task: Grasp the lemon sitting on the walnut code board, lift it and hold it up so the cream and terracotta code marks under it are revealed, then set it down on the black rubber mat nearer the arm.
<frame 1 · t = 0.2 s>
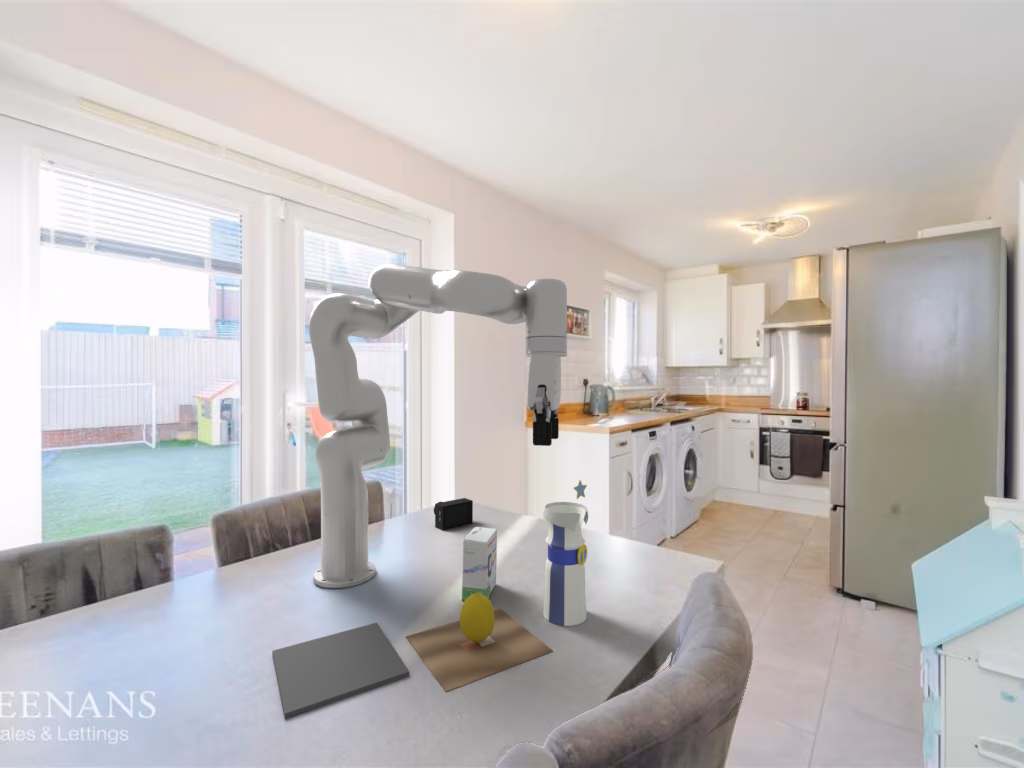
hand: (546, 441, 86), 31 cm above the table, tool pointing down, fingers open, 9 cm apart
lemon: (477, 644, 75), resting on code board
rubber mat: (338, 664, 69), on the table
water bottle: (566, 615, 84), on the table
code board: (477, 643, 75), on the table
ink box: (479, 593, 93), on the table
digital camera: (453, 525, 137), on the table
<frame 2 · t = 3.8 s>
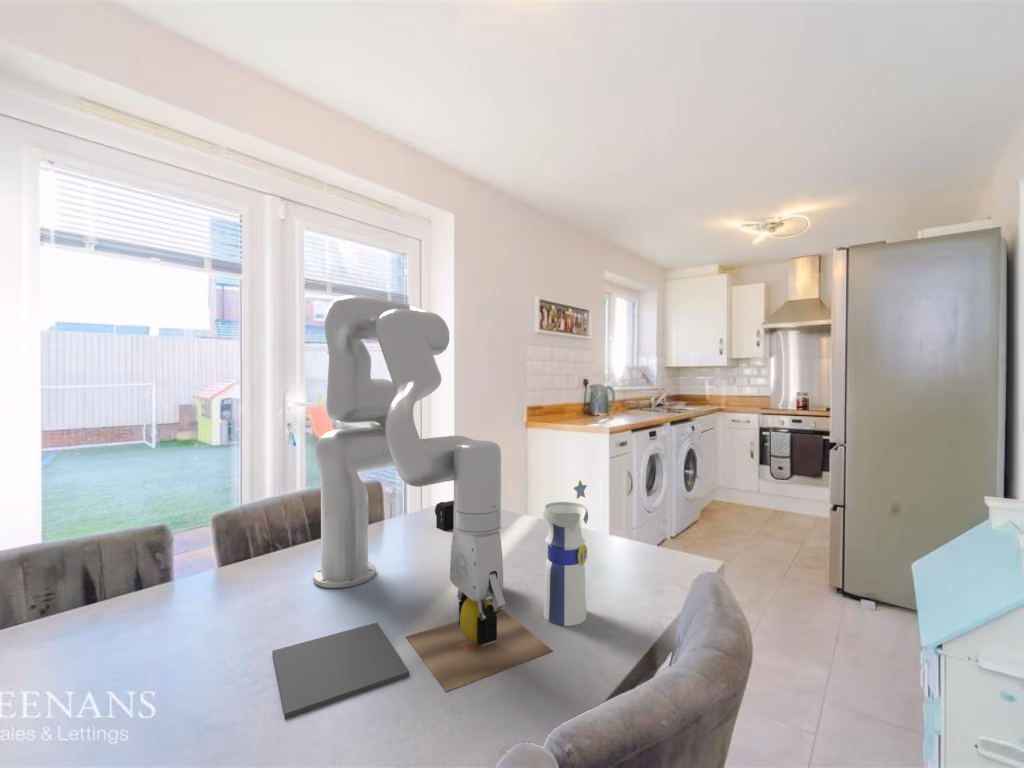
hand: (477, 631, 75), 2 cm above the table, tool pointing down, fingers closed on lemon, 5 cm apart
lemon: (477, 644, 75), resting on code board, touching gripper
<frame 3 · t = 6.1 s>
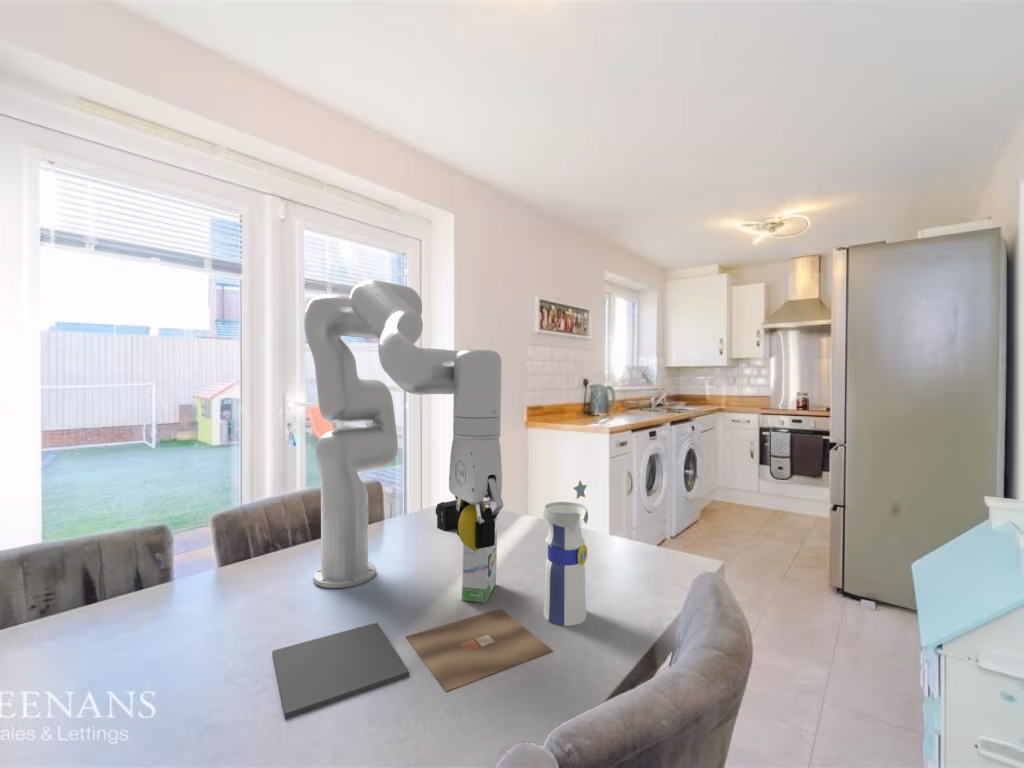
hand: (475, 539, 75), 17 cm above the table, tool pointing down, fingers closed on lemon, 5 cm apart
lemon: (475, 552, 75), point 15 cm above the table, touching gripper
everything else where it was.
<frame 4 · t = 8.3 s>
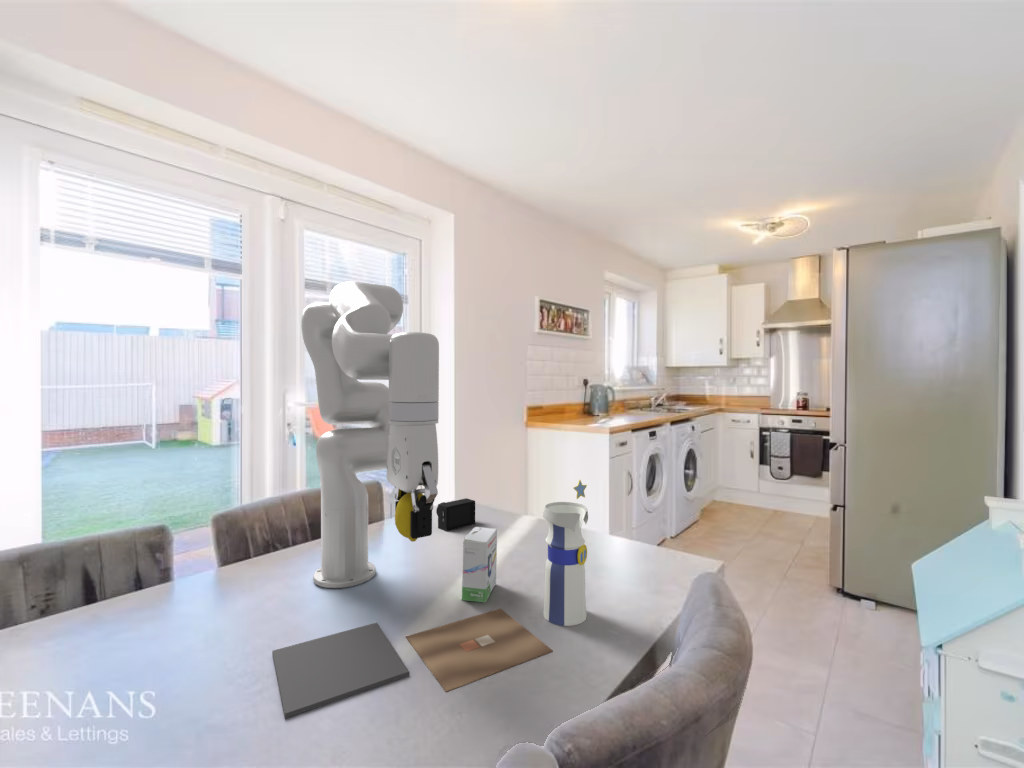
hand: (413, 529, 72), 19 cm above the table, tool pointing down, fingers closed on lemon, 5 cm apart
lemon: (413, 542, 72), point 17 cm above the table, touching gripper
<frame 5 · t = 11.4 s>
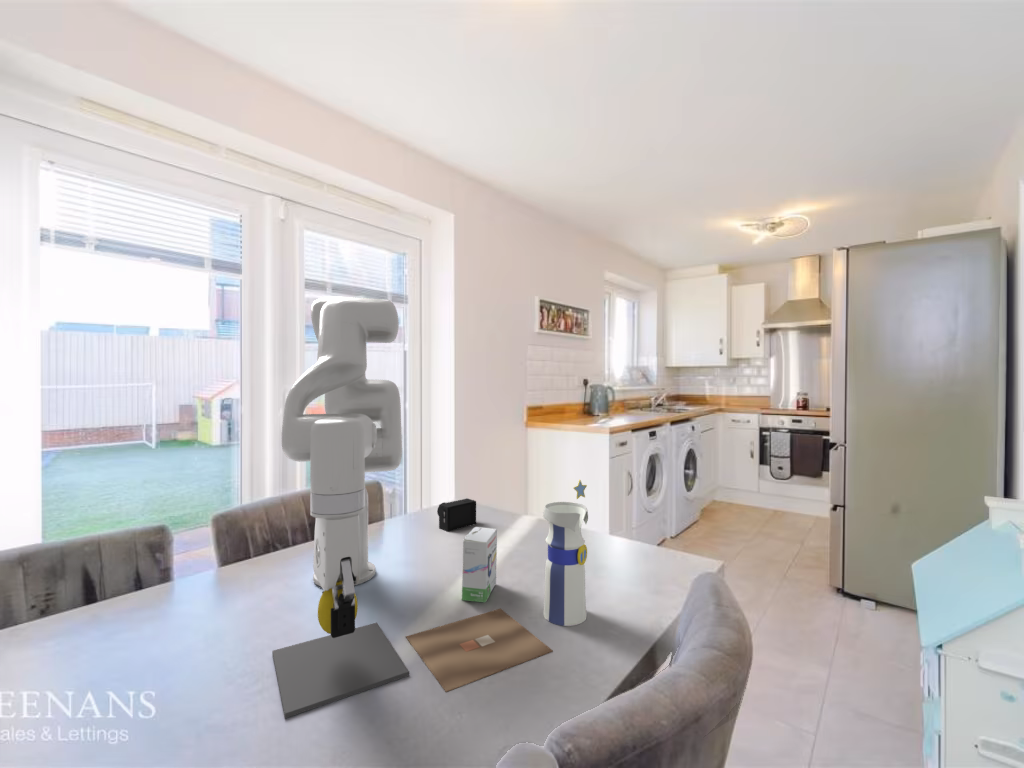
hand: (338, 623, 69), 6 cm above the table, tool pointing down, fingers closed on lemon, 5 cm apart
lemon: (338, 637, 69), point 4 cm above the table, touching gripper
when the fingers open (4 cm above the table, at t = 12.9 s): lemon drops 1 cm, resting on rubber mat.
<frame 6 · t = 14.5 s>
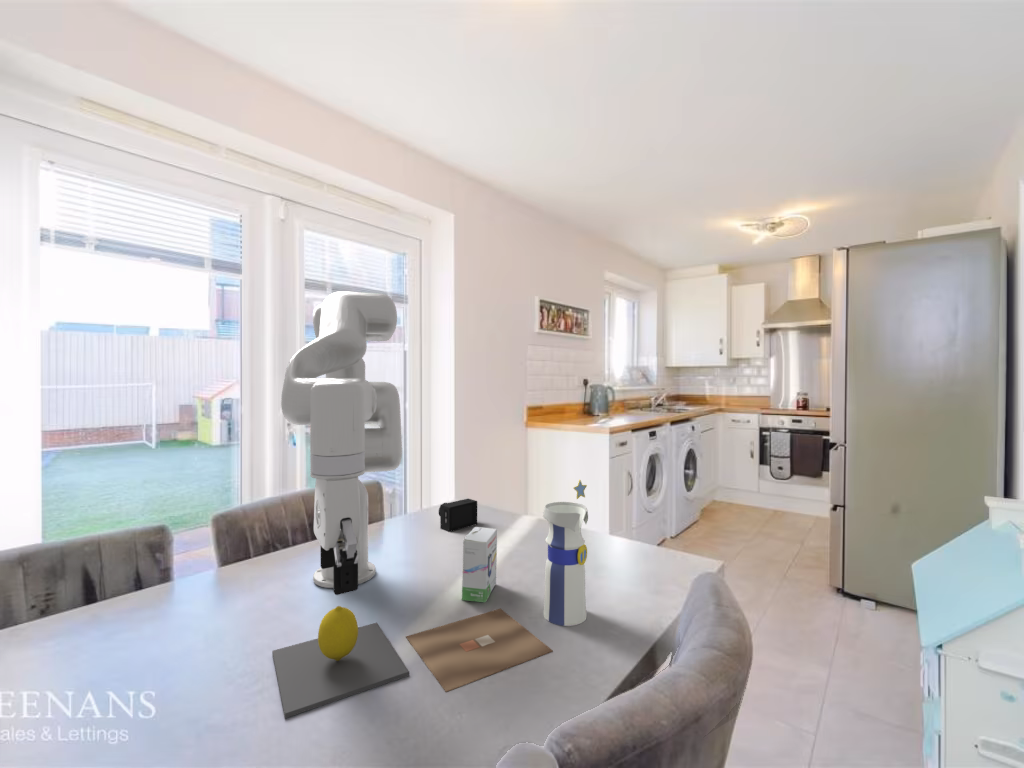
hand: (338, 578, 70), 13 cm above the table, tool pointing down, fingers open, 9 cm apart
lemon: (338, 661, 69), resting on rubber mat
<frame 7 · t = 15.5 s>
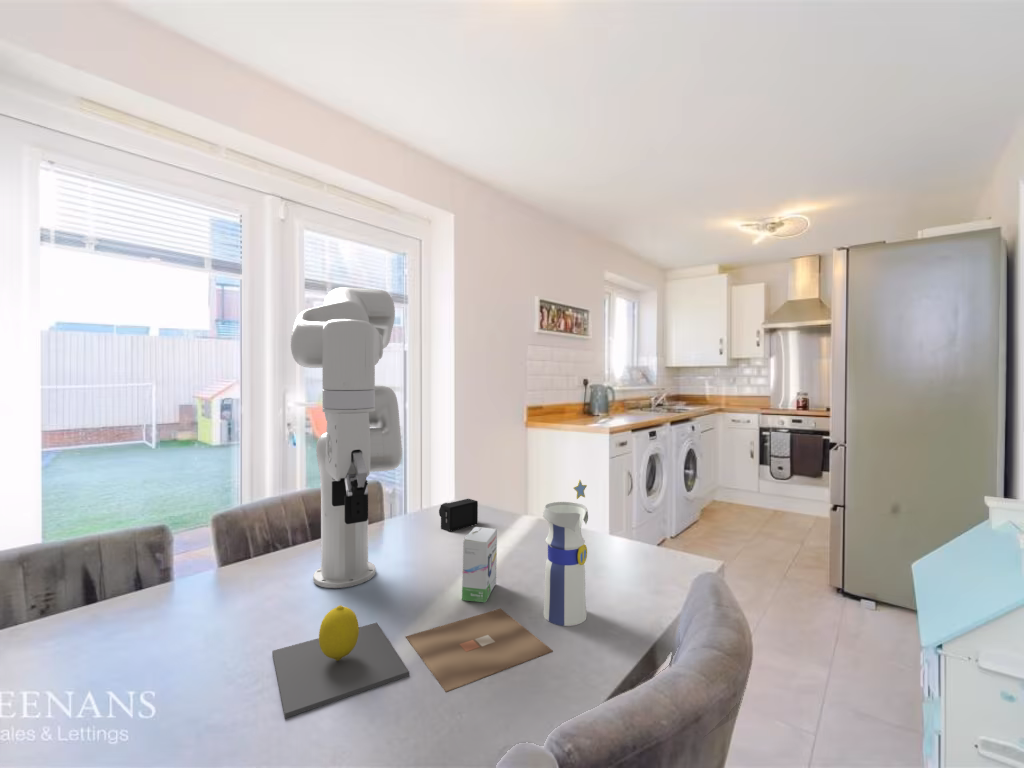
hand: (349, 513, 72), 22 cm above the table, tool pointing down, fingers open, 9 cm apart
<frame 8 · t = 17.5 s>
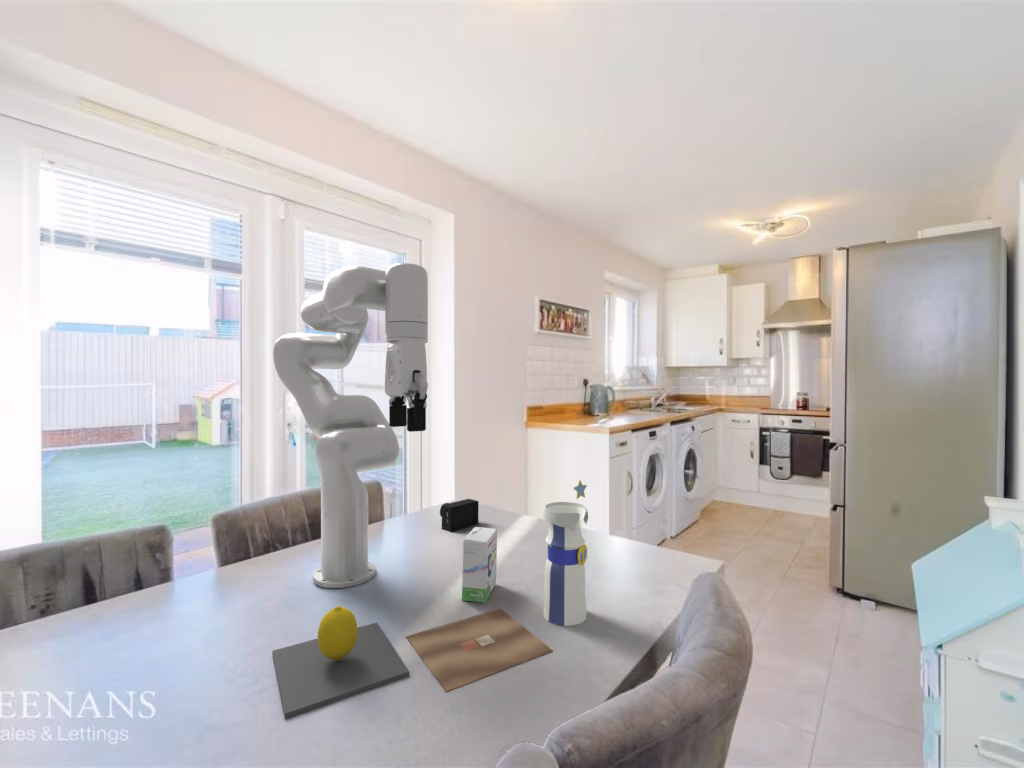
hand: (406, 428, 85), 33 cm above the table, tool pointing down, fingers open, 9 cm apart
at the end: lemon inside the target area on the rubber mat (0.1 cm from its centre), point 0.4 cm above the rubber mat's base; lemon touching rubber mat; the gripper is holding nothing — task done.
